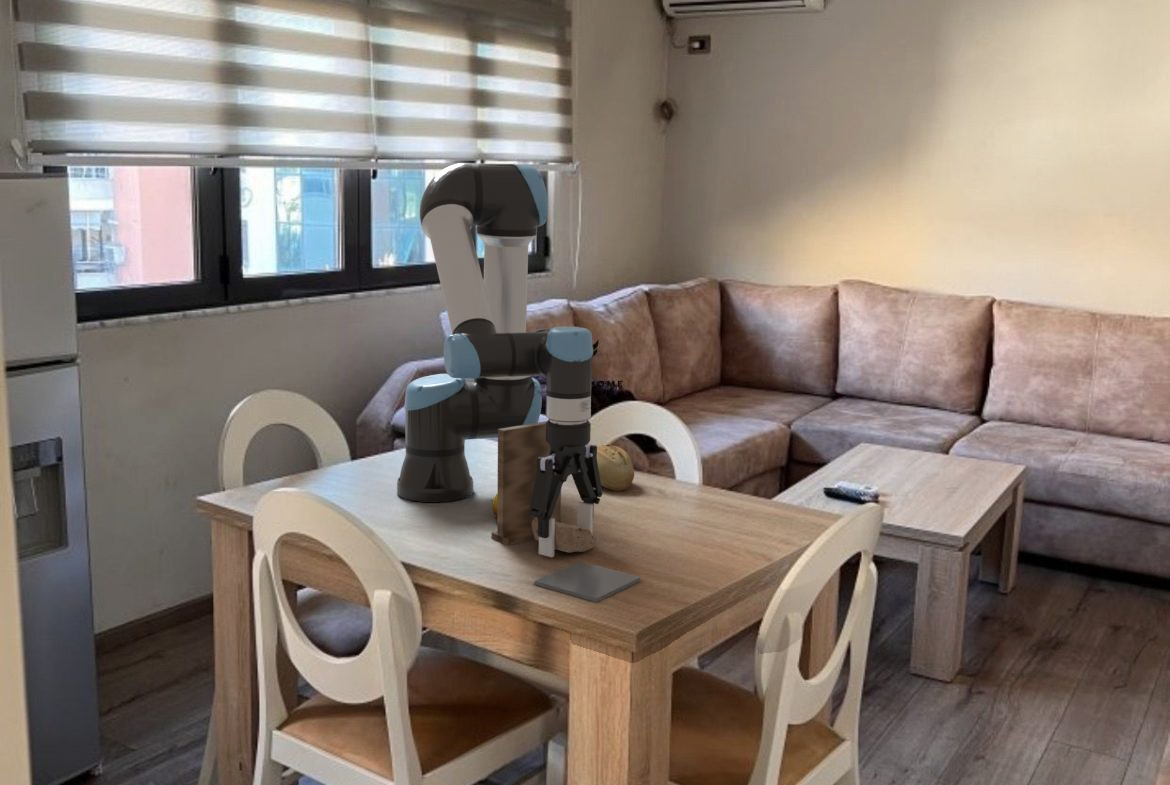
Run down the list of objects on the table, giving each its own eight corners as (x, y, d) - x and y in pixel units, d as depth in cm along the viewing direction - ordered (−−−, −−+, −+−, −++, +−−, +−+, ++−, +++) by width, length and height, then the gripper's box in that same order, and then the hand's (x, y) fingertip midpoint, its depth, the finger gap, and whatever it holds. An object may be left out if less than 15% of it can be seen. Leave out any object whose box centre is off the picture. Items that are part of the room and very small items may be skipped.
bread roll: (603, 472, 253) (604, 436, 251) (646, 489, 241) (647, 451, 239) (566, 478, 247) (567, 442, 246) (608, 495, 235) (609, 457, 234)
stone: (557, 554, 194) (559, 525, 194) (525, 540, 204) (528, 512, 204) (602, 554, 199) (605, 525, 199) (569, 540, 209) (572, 513, 208)
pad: (534, 584, 185) (534, 580, 185) (580, 564, 194) (580, 561, 194) (596, 602, 178) (596, 598, 178) (640, 580, 187) (640, 577, 187)
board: (508, 545, 203) (509, 432, 199) (491, 537, 207) (492, 427, 203) (566, 531, 212) (568, 422, 208) (548, 524, 215) (550, 417, 212)
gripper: (543, 434, 185) (541, 569, 190) (625, 412, 203) (621, 535, 208) (507, 427, 190) (506, 559, 194) (590, 406, 208) (587, 527, 212)
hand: (565, 547), depth 201 cm, fingers closed on stone, 10 cm apart
